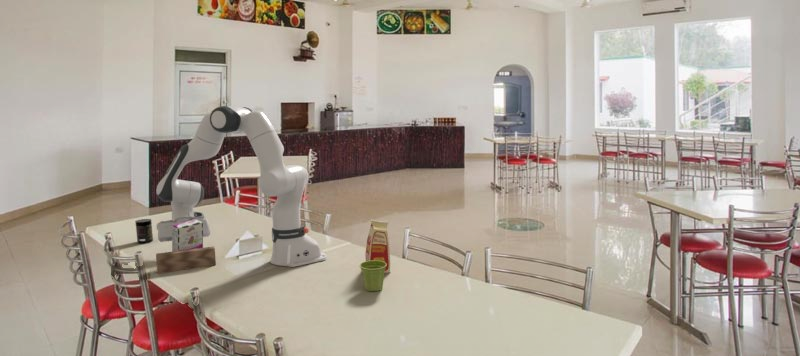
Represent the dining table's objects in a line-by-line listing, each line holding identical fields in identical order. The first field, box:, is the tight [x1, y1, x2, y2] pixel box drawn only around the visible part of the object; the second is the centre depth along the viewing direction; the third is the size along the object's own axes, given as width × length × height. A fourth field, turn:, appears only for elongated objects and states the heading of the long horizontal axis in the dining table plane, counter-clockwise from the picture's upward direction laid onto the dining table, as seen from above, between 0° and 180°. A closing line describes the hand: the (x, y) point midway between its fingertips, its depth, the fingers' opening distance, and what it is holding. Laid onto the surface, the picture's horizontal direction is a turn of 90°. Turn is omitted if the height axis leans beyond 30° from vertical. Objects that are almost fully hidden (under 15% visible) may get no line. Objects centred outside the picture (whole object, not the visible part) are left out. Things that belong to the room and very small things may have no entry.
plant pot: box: [358, 260, 387, 292], centre depth 166 cm, size 9×9×9 cm
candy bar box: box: [171, 219, 204, 252], centre depth 196 cm, size 11×5×16 cm, turn 147°
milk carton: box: [365, 219, 391, 274], centre depth 184 cm, size 9×9×20 cm
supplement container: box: [135, 218, 154, 244], centre depth 226 cm, size 7×7×10 cm
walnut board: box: [155, 246, 217, 274], centre depth 189 cm, size 21×3×7 cm, turn 115°
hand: (185, 247), depth 200 cm, fingers closed
